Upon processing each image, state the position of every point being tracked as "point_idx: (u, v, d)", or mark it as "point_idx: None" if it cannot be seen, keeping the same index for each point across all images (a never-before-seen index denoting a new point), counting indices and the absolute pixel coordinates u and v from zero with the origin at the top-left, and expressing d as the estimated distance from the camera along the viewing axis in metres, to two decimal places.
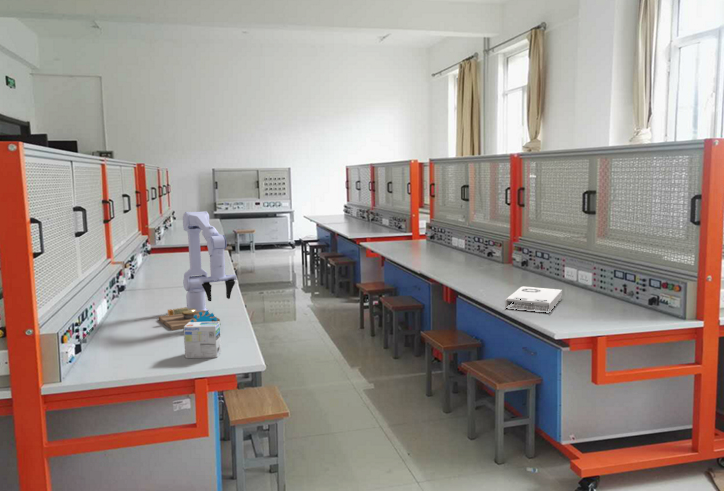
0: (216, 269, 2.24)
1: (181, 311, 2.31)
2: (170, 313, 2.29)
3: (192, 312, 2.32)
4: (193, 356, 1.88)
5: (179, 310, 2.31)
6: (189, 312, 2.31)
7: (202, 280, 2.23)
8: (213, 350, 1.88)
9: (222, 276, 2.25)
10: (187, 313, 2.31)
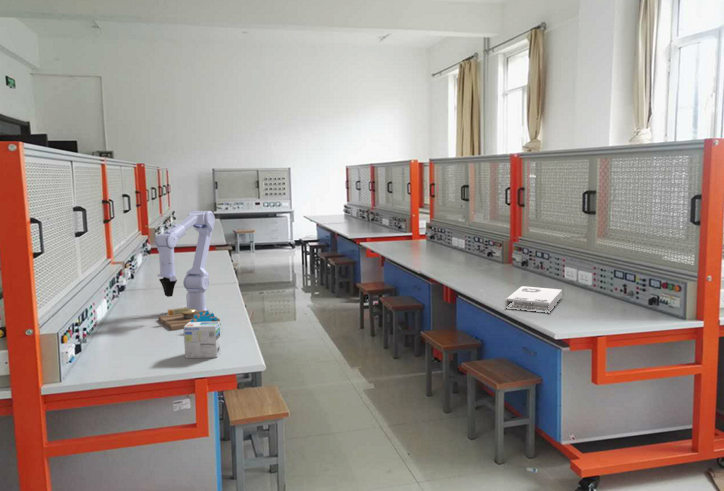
0: None
1: (181, 311, 2.31)
2: (170, 313, 2.29)
3: (192, 312, 2.32)
4: (193, 356, 1.88)
5: (179, 310, 2.31)
6: (189, 312, 2.31)
7: None
8: (213, 350, 1.88)
9: (161, 273, 2.31)
10: (187, 313, 2.31)
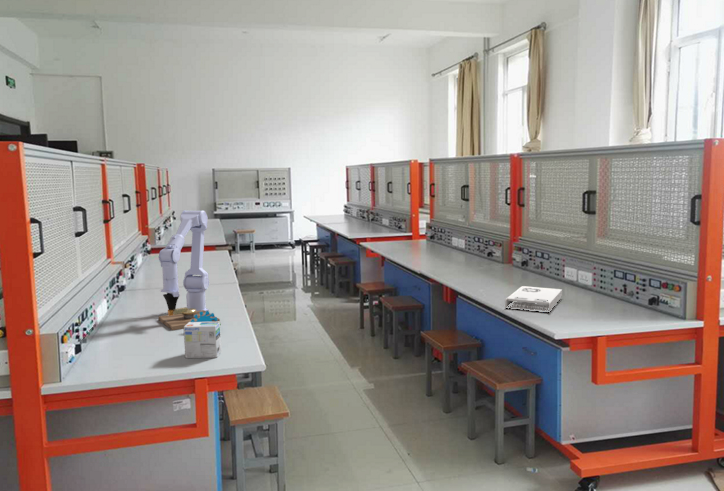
0: None
1: (181, 311, 2.31)
2: (170, 313, 2.29)
3: (192, 312, 2.32)
4: (193, 356, 1.88)
5: (179, 310, 2.31)
6: (189, 312, 2.31)
7: None
8: (213, 350, 1.88)
9: (164, 289, 2.28)
10: (187, 313, 2.31)
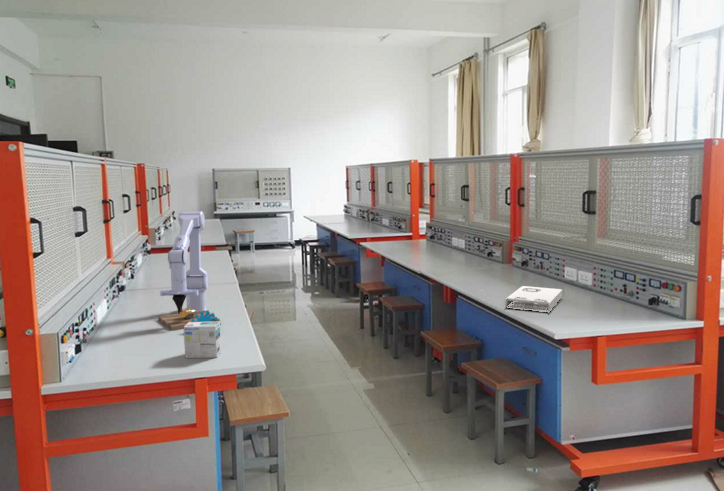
0: (173, 283, 2.24)
1: (188, 311, 2.31)
2: (185, 314, 2.26)
3: (195, 310, 2.34)
4: (193, 356, 1.88)
5: (187, 310, 2.30)
6: (195, 311, 2.33)
7: (161, 292, 2.26)
8: (213, 350, 1.88)
9: (179, 290, 2.24)
10: (194, 312, 2.32)
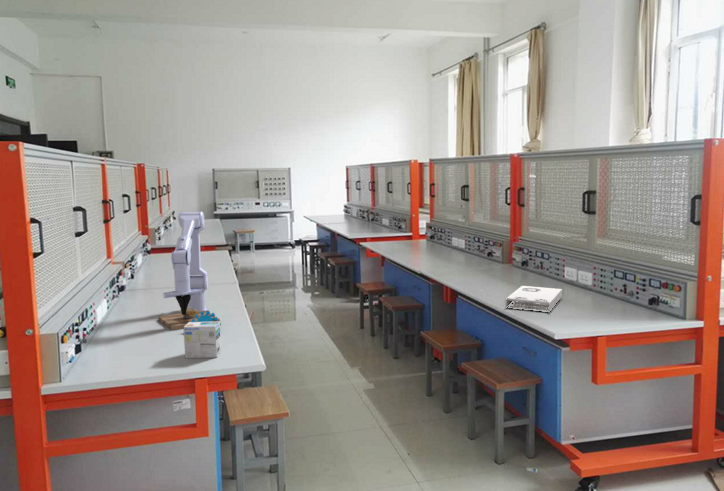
0: (179, 284, 2.23)
1: None
2: None
3: None
4: (193, 356, 1.88)
5: None
6: (195, 310, 2.35)
7: (165, 294, 2.22)
8: (213, 350, 1.88)
9: (186, 291, 2.24)
10: None
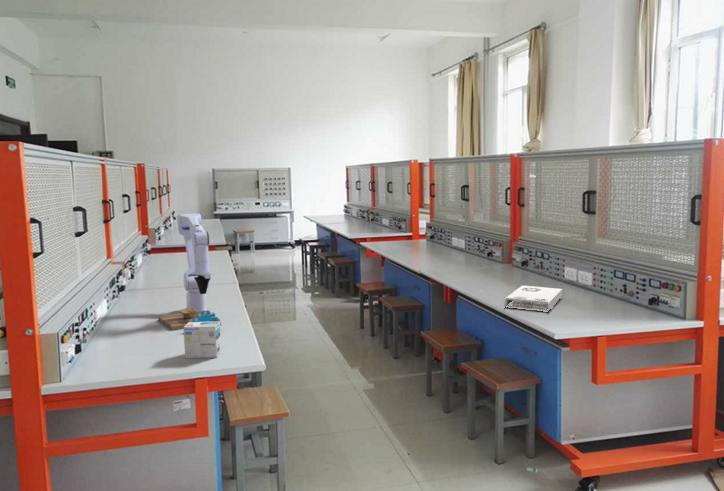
0: None
1: None
2: None
3: None
4: (193, 356, 1.88)
5: None
6: (195, 310, 2.35)
7: (194, 271, 2.42)
8: (213, 350, 1.88)
9: (196, 271, 2.35)
10: None
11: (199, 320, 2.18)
